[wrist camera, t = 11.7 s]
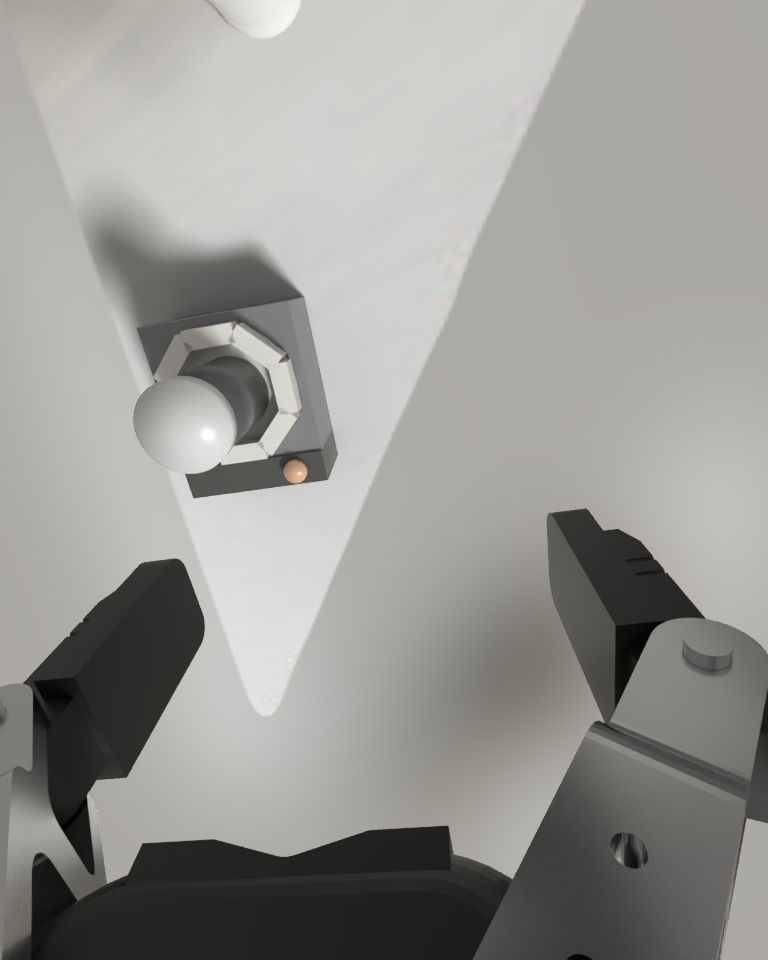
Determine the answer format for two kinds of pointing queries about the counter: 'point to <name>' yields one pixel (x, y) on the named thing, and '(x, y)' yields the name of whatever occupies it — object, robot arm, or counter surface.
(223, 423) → the dark capped cylinder
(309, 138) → the counter surface
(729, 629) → the robot arm
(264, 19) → the drinking glass
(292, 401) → the block with octagonal ring
